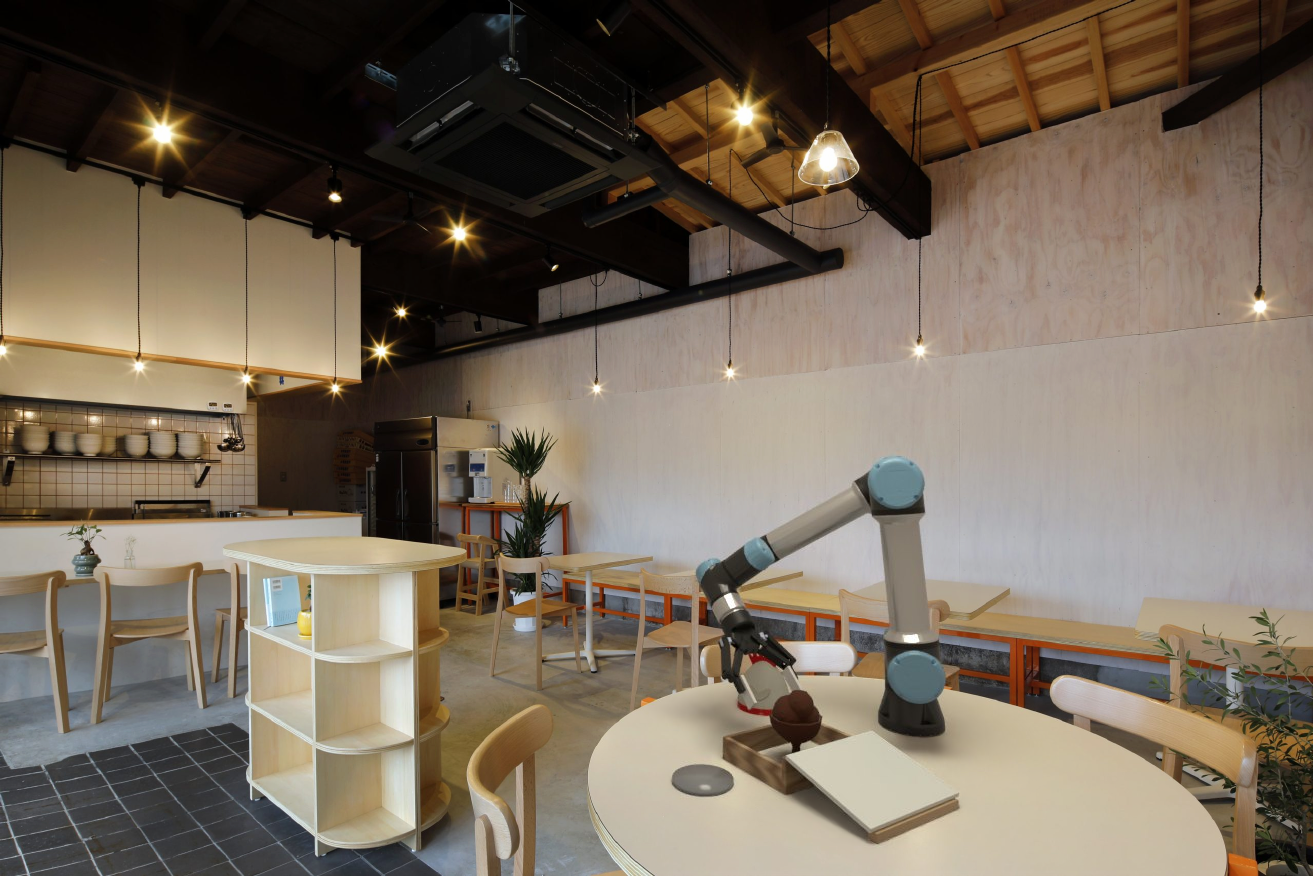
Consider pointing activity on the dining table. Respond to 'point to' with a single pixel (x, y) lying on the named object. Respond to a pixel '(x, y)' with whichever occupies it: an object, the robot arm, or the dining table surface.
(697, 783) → the coaster
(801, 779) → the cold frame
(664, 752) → the dining table surface
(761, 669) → the kitchen timer
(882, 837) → the lid
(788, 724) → the ice cream bowl
